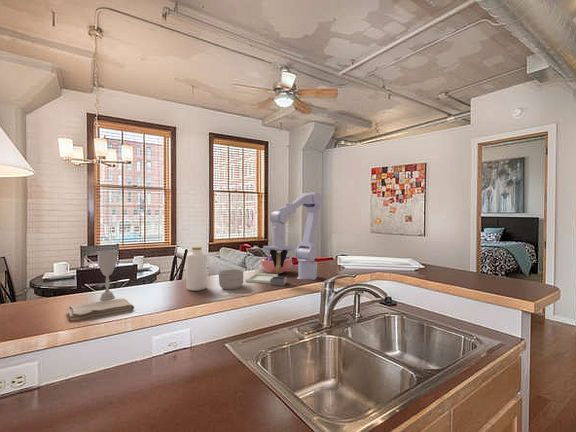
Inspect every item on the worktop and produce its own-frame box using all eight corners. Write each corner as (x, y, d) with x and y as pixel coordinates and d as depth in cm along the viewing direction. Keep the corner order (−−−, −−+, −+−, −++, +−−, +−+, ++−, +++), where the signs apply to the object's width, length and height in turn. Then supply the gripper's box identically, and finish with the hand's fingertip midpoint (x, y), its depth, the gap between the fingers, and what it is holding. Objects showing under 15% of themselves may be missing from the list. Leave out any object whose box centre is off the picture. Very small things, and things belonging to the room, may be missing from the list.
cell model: (298, 272, 174) (299, 252, 174) (279, 278, 157) (279, 256, 157) (274, 269, 183) (274, 250, 183) (252, 274, 166) (253, 253, 166)
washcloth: (65, 313, 102) (65, 304, 102) (125, 303, 113) (125, 295, 113) (69, 323, 93) (69, 313, 93) (134, 311, 104) (134, 302, 104)
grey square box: (286, 283, 145) (286, 277, 145) (283, 287, 139) (283, 279, 139) (273, 283, 146) (273, 276, 146) (270, 286, 140) (270, 279, 140)
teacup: (230, 293, 127) (230, 274, 127) (212, 289, 134) (212, 270, 134) (253, 287, 138) (253, 269, 138) (236, 283, 145) (236, 266, 145)
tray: (278, 277, 159) (278, 274, 159) (270, 284, 143) (270, 280, 143) (255, 276, 161) (255, 273, 161) (245, 283, 146) (245, 279, 146)
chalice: (107, 301, 115) (107, 252, 114) (91, 300, 116) (92, 252, 116) (122, 296, 122) (122, 250, 122) (107, 295, 123) (107, 249, 123)
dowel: (282, 272, 143) (282, 252, 143) (280, 273, 141) (281, 253, 141) (276, 272, 144) (276, 252, 144) (275, 273, 141) (275, 253, 141)
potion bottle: (182, 289, 133) (182, 247, 132) (196, 285, 140) (196, 246, 140) (196, 292, 129) (196, 248, 128) (210, 288, 136) (210, 247, 136)
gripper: (261, 237, 140) (261, 267, 140) (292, 237, 137) (292, 268, 137) (265, 236, 147) (265, 264, 147) (295, 236, 144) (295, 265, 144)
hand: (278, 266), depth 142 cm, fingers closed on dowel, 3 cm apart
